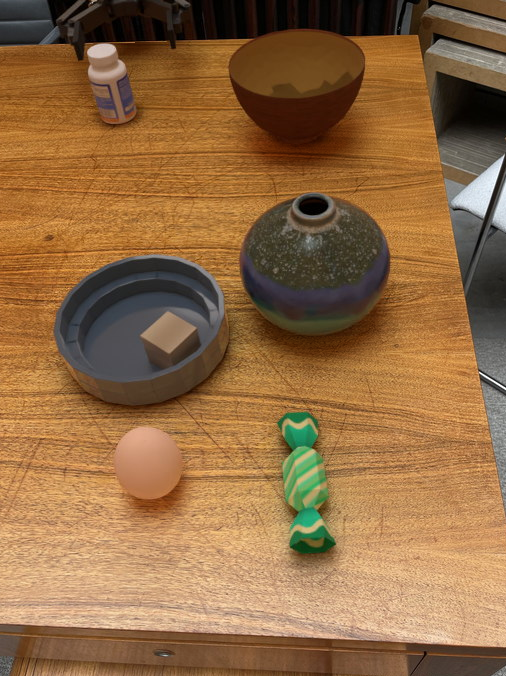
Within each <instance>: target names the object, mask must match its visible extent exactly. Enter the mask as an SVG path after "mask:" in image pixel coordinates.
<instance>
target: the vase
mask: <svg viewBox="0 0 506 676" xmlns="http://www.w3.org/2000/svg"><path fill="white" fill-rule="evenodd" d="M240 247H241V248H240V252H239V258H238V267H239V276H240V281H241V284H242V288H243V290H244V292H245V294H246V296H247V298H248V300H249V302H250V303H251V305H252V306H253V307H254V308H255V310H256V311H257V312H258V313H259V314H260V315H261V316H262V317H263V318H264V319H265V320H267V321H268V322H269V323H271V324H272V325H274V326H276V327H278V329H279V328H280V329H282V330H283V331H286V332H289V333H292V334H296V335H301V336H311V337H317V336H327V335H332V334H336V333H339V332H342V331H345V330H347V329H349V328H351V327H352V326H354V325H356V324H357V323H359V322H361V320H363V319H365V317H367V316H368V315H369V314H370V313H371V311H372V310H373V309H374V308H375V307H376V306H377V304H378V303H379V302H380V300H381V298H382V296H383V294H384V292H385V290H386V288H387V285H388V281H389V278H390V273H391V252H390V246H389V243H388V239H387V237H386V234H385V233H384V230H383V228H382V227H381V226H380V224H379V223H378V222H377V221H376V219H375V218H374V217H373V216H372V215H371V214H369V213H368V212H367V211H366V210H365V209H364V208H362V207H360V206H359V205H357V204H355V203H353V202H351V201H350V200H346V199H344V198H341V197H337V196H332V195H327V194H325V193H322V192H315V191H313V192H306V193H303V194H300V195H299V196H295V197H292V198H289V199H285V200H282V201H281V202H278V203H277V204H275V205H273V206H271V207H269V208H268V209H267V210H265V211H264V212H262V214H261V215H260V216H258V218H257V219H255V221H254V222H253V223H252V225H251V226H250V227H249V229H248V230H247V231H246V234H245V236H244V239H243V241H242V243H241V246H240Z"/></svg>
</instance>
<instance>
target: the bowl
mask: <svg viewBox="0 0 506 676" xmlns="http://www.w3.org/2000/svg"><path fill="white" fill-rule="evenodd" d="M227 67H228V74H229V80H230V84H231V87H232V90H233V93H234V95H235V97H236V100H237V101H238V103H239V105H240V107H241V108H242V110H243V111H244V112H245V114H246V115H247V116H248V118H249V119H250V120H251V121H252V122H253V123H254V124H255V125H256V126H257V127H259V128H260V129H261V130H263V131H264V132H266V133H268V134H270V135H272V136H274V137H277V138H279V139H280V140H281V141H283V142H285V143H288V144H291V145H292V144H293V145H302V144H307V143H310V142H313V141H315V140H316V139H317V138H319V137H320V135H322V134H325V133H327V132H328V131H330V130H331V129H333V128H334V127H335V126H337V125H339V124H340V122H341V121H342V120H343V119H344V118H345V116H346V115H347V114H348V112H349V111H350V109H351V107H352V106H353V104H355V101H356V99H357V98H358V95H359V93H360V91H361V88H362V84H363V81H364V75H365V71H366V55H365V53H364V51H363V49H362V48H361V47H360V46H359V45H358V44H357V43H356V42H355V41H353V40H352V39H350V38H348V37H346V36H345V35H341V34H338V33H335V32H333V31H329V30H323V29H312V28H295V29H291V28H290V29H285V30H283V29H282V30H277V31H273V32H269V33H266V34H263V35H260V36H257V37H255V38H252V39H251V40H249V41H247V42H245V43H243V44H242V45H241V46H239V48H237V49H236V50H235V51H234V53H233V54H232V55H231V57H230V58H229V63H228V65H227Z"/></svg>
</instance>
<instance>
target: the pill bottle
mask: <svg viewBox="0 0 506 676" xmlns="http://www.w3.org/2000/svg"><path fill="white" fill-rule="evenodd" d="M86 53H87V58H88V62H89V64H90V65H89V66H88V69H87V75H88V79H89V82H90V86H91V89H92V93H93V96H94V99H95V103H96V107H97V110H98V113H99V116H100V118H101V120H102V121H103V122H105V123H106V124H110V125H121V124H126V123H127V122H130V121H131V120H133V119H134V118H135V117H136V115H137V105H136V101H135V97H134V94H133V90H132V86H131V81H130V77H129V73H128V70H127V66H126V64H125V63H124V61H122V60H121V59H119V54H118V51H117V48H116V46H115V45H114V44H111V43H97V44H95V45H92V46H91V47H89V48H88V49H87V52H86Z"/></svg>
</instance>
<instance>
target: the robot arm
mask: <svg viewBox="0 0 506 676" xmlns="http://www.w3.org/2000/svg"><path fill="white" fill-rule="evenodd" d="M138 16H140V17H143V18H146V19H149V18H153V19H155V20H158V21H159V22H160V21H161V22H162V23H164V24H165V23H166V26H167V27H166V28H167V35H168V39H169V45H170V50H177V41H176V40H177V39H176V34H181V33H182V32H183V26H182V25H183V23H185V24H192V23H194V18H193V11H192V5H191V3H190V2H188V1H186V0H77V1H76V2H74V3H73V4H72V6H71V5H70V6H69V8H68V9H67V10H66V11H65V12H63V14H61V15H60V16H59V17H58V18H56V19H55V22H56V27H57V28H58V31H59V34H60V38H61V39H68V42H69V45H70V46H71V47H73V50H74V52H75V55H76V59H77V61H78V62H81V61H84V60H85V59H84V57H85V48H86V47H85V46H86V37H85V35H87V34H88V33H90V32H92V31H93V30H95V29H96V28H98V27H99V26H101V25H102V24H104V23H107V24H110V23H112V22H113V21H115V20H116V19H118V18H119V19H121V18H122V17H123V18H135V17H138Z"/></svg>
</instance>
